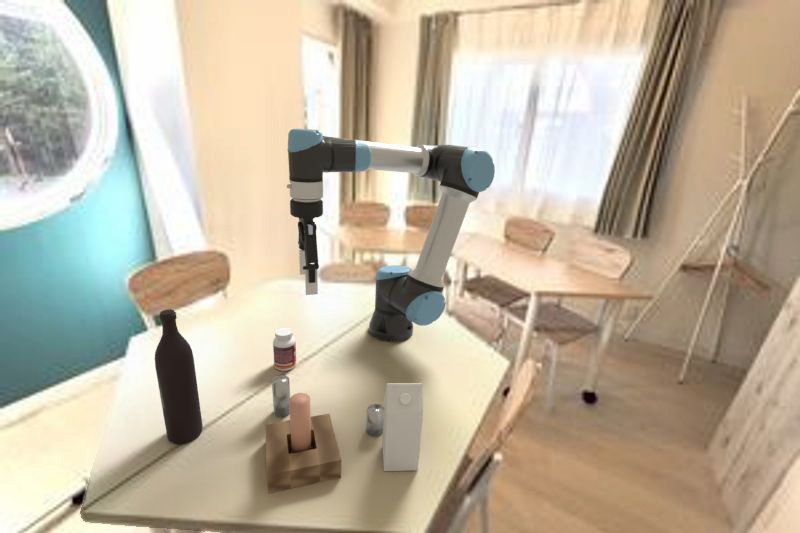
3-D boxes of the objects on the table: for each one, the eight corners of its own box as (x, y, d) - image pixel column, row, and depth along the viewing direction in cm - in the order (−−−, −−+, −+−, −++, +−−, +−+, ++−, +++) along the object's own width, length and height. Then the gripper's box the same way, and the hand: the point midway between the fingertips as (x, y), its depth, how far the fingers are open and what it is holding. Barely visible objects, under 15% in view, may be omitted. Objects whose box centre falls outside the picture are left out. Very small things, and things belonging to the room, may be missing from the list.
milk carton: (382, 446, 91) (385, 373, 85) (413, 445, 92) (419, 373, 86) (383, 471, 85) (387, 395, 78) (417, 471, 85) (424, 394, 79)
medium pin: (289, 404, 102) (287, 373, 100) (292, 414, 99) (290, 383, 96) (273, 408, 101) (270, 376, 98) (274, 418, 98) (272, 386, 95)
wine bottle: (190, 418, 96) (173, 301, 86) (209, 430, 93) (194, 310, 83) (160, 436, 90) (139, 313, 80) (180, 450, 87) (160, 323, 77)
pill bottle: (299, 368, 118) (298, 334, 114) (278, 374, 114) (276, 339, 111) (292, 357, 122) (290, 324, 119) (271, 363, 119) (269, 329, 115)
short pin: (380, 423, 98) (381, 402, 96) (385, 435, 95) (386, 413, 93) (364, 426, 97) (365, 405, 95) (368, 438, 93) (369, 416, 91)
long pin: (310, 449, 89) (308, 391, 84) (312, 463, 86) (311, 403, 81) (291, 453, 88) (288, 394, 83) (292, 467, 84) (290, 407, 79)
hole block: (329, 429, 95) (329, 413, 94) (341, 477, 83) (341, 459, 81) (266, 441, 91) (265, 424, 89) (268, 493, 78) (267, 475, 77)
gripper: (286, 189, 105) (288, 267, 113) (294, 210, 83) (297, 305, 90) (315, 189, 108) (316, 265, 115) (331, 210, 86) (331, 302, 93)
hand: (308, 283), depth 103 cm, fingers open, 13 cm apart
